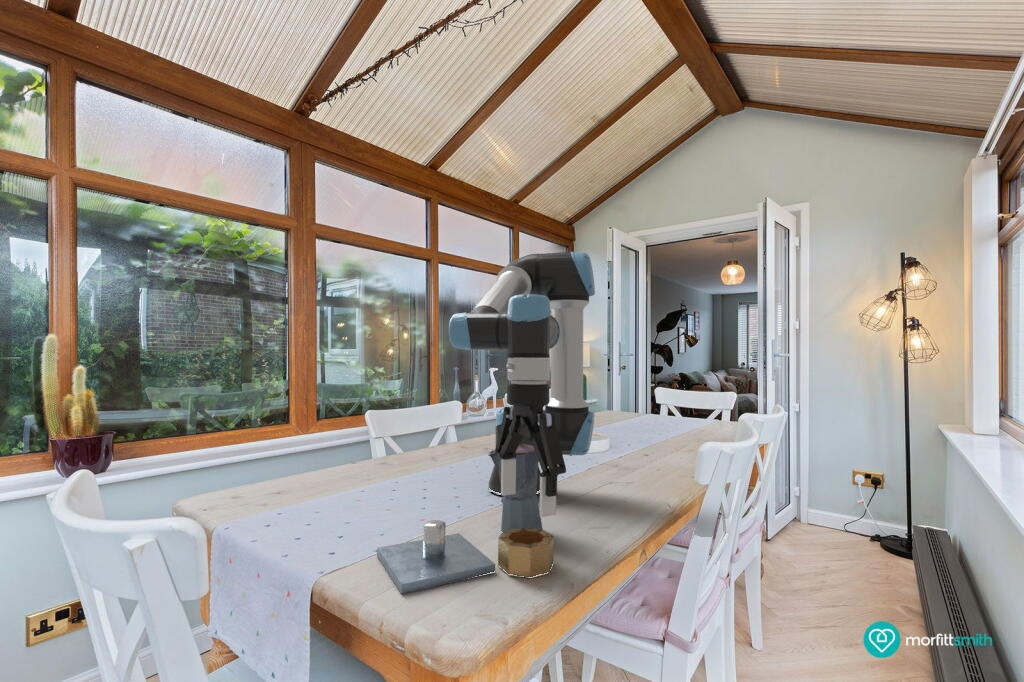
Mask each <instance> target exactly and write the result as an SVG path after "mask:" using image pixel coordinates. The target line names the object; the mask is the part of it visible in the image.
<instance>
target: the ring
mask: <svg viewBox="0 0 1024 682" xmlns="http://www.w3.org/2000/svg"><path fill="white" fill-rule="evenodd" d="M497 542H498V543H497V544H498V552H497V556H498V557H497V558H498V559H497V561H498V562H497V566H498V565H499V566H500V567H501V568H502V569H504V570H505V571H506V572H507V573H508V574H513V575H517V576H524V577H533V576H536V575H539V574H544V573H547V572H549V571H550V569H551V567H552V564H553V562H554V559H555V555H554V554H555V551H554V550H555V537H554V535H553V534H551V533H548V532H547V531H546V530H544V529H543V530H541V529H532V528H523V527H522V528H517V529H511V530H506V531H504V532H503V533H501V535H500V536H499V537H498V540H497ZM552 568H553V567H552ZM551 570H552V569H551ZM550 572H551V571H550Z"/></svg>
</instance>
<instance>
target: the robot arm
mask: <svg viewBox="0 0 1024 682" xmlns="http://www.w3.org/2000/svg"><path fill="white" fill-rule="evenodd" d="M595 287H596V286H595V277H594V271H593V265H592V260H591V257H590V255H589V254H588V253H586V252H583V251H582V252H580V251H566V252H548V253H547V252H546V253H531V254H526V255H524V256H522V257H519V258H517V259H514V260H513V261H512V262H509V263H508V264H507V265H506V266H504V267H503V268H502V269H501V270H500V271H499V272H498V274H497V275H496V278H495V283H494V284H493V285H492V287H491V288H490V289H489V290H488V292H487V293H486V294H485V295H484V296H483V297H482V298H481V300H480V301H479V302H478V304H477V305H476V306H475V307H474V308H473V309H472V310H471V311H470V312H460V313H459V312H458V313H457V312H456V313H453V315H452V316H451V317H450V320H449V323H448V339H449V342H450V344H451V346H452V347H453V348H455V349H457V350H466V351H467V350H468V351H475V350H476V351H477V350H480V351H486V350H487V351H490V350H491V351H499V350H502V351H504V350H505V351H507V363H506V364H505V366H506V370H507V375H506V379H507V381H510V383H508V384H507V385H506V403H507V405H509V406H504V407H501V408H500V409H498V410H497V412H496V416H495V425H494V427H495V448H494V450H495V452H496V453H499V456H500V458H501V459H502V460H501V482H500V476H499V473H498V471H497V469H496V467H495V465H494V464H493V467H492V471H491V474H490V477H489V480H488V489H489V488H490V489H491V490H493V491H495V492H499V493H501V495H502V496H501V497H503V496H504V495H511V494H516V459H515V458H512V457H517V456H516V454H515V452H516V450H517V448H518V446H519V444H520V443H521V444H526V445H531V446H533V447H534V450H535V453H536V455H537V458H538V461H539V463H538V478H537V491H539V490H540V494H539V511H540V517H541V518H543V517H544V518H546V517H551V516H557V495H558V476H559V475H562V474H566V472H567V468H566V467H567V466H566V463H565V460H564V456H569V457H572V456H584V455H587V454H588V453H589V451H590V447H591V443H592V439H593V431H594V423H595V413H594V412H593V411H592V410H589V409H590V408H589V406H590V405H589V402H587V401H586V400H585V399H584V309H585V308H586V306H588V305H589V304H590V297H593V296H594V295H595V294H596V290H595V289H596V288H595ZM549 381H550V385H549V384H548V383H547V382H549ZM544 408H545V409H544ZM511 458H512V459H511ZM541 471H542V472H541Z"/></svg>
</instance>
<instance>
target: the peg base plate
mask: <svg viewBox="0 0 1024 682" xmlns="http://www.w3.org/2000/svg"><path fill="white" fill-rule="evenodd" d="M446 524H447V523H446V521H444V520H439V519H438V520H437V519H435V520H434V519H433V520H427V521H426V522H424V523H423V535H422V537H423V538H422V539H418V540H413V541H408V542H401V543H396V544H391V545H385V546H380V547H376V549H377V551H376V557H377V558H378V560H379V561H380V563H381V564H382V566H383V567H384V569H385V571H386V572H387V574H388V575H389V577H390V578H391V580H392V582H393V583H394V584H395V587H396V588H397V589H398V591H399V592H400V594H401V595H405V594H410V593H413V592H418V591H422V590H425V589H426V590H427V589H431V588H435V587H440V586H444V585H443V584H445V585H447V584H446V583H449V584H451V583H450V582H454V583H456V582H455V581H458V582H461V581H460V580H463V579H467V580H469V579H468V578H471V579H473V578H472V577H475V576H479V575H483V574H487V573H490V572H494V571H495V572H496V563H495V562H494V561H493V560H491V559H490V558H489V557H488V556H486V554H484V553H483V552H482V551H480V550H479V549H478V548H477V547H476V546H475V545H474V544H472V543H471V542H470V541H469V540H467V539H466V538H465V537H464V536H463V535H461V534H460V533H458V532H457V533H454V534H447V535H446V528H447V527H446ZM463 581H464V580H463Z"/></svg>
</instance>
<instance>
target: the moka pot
mask: <svg viewBox="0 0 1024 682" xmlns="http://www.w3.org/2000/svg"><path fill="white" fill-rule="evenodd" d="M515 454H516V456H517V457H512V458H515V459H516V494H511V495H504V496H502V497H501V500H500V501H501V503H502V510H501V512H502V514H501V523H500V524H501V525H500V527H501V528H500V532H501V531H502V532H504V531H506V530H511V529H517V528H522V527H523V528H532V529H541V530H544V529H543V524H542V517H541V516H540V504H539V500H538V495H537V494H536V493H537V478H538V465H539V464H540V463H539V461H538V458H537V455H536V453H535V450H534V447H533V446H531V445H526V444H521V443H520V444H519V446H518V448H517V450H516V452H515ZM487 456H489V457H490V458H491V461H492V462H493V466H494V465H495V467H496V469H497V471H498V473H499V476H500V482H501V460H502V459H501V458H500V456H499V453H496V452H495V449H492V450H491V451H489V453H487ZM512 458H511V459H512Z"/></svg>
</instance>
